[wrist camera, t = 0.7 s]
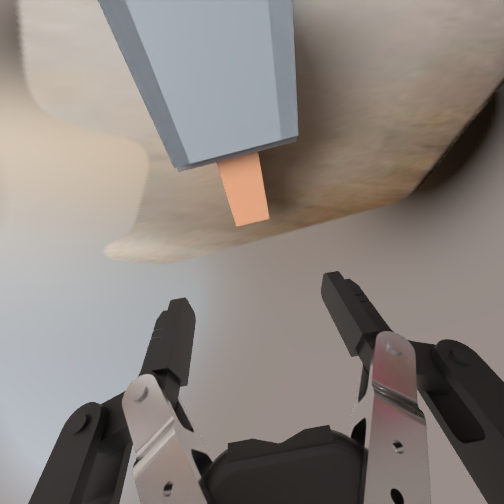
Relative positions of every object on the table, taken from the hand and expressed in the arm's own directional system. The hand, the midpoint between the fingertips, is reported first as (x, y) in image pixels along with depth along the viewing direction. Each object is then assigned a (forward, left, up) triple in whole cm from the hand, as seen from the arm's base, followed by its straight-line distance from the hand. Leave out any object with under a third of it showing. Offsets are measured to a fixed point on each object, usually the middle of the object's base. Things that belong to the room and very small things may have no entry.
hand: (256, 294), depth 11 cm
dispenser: (-1, -11, -17) cm, 20 cm away
